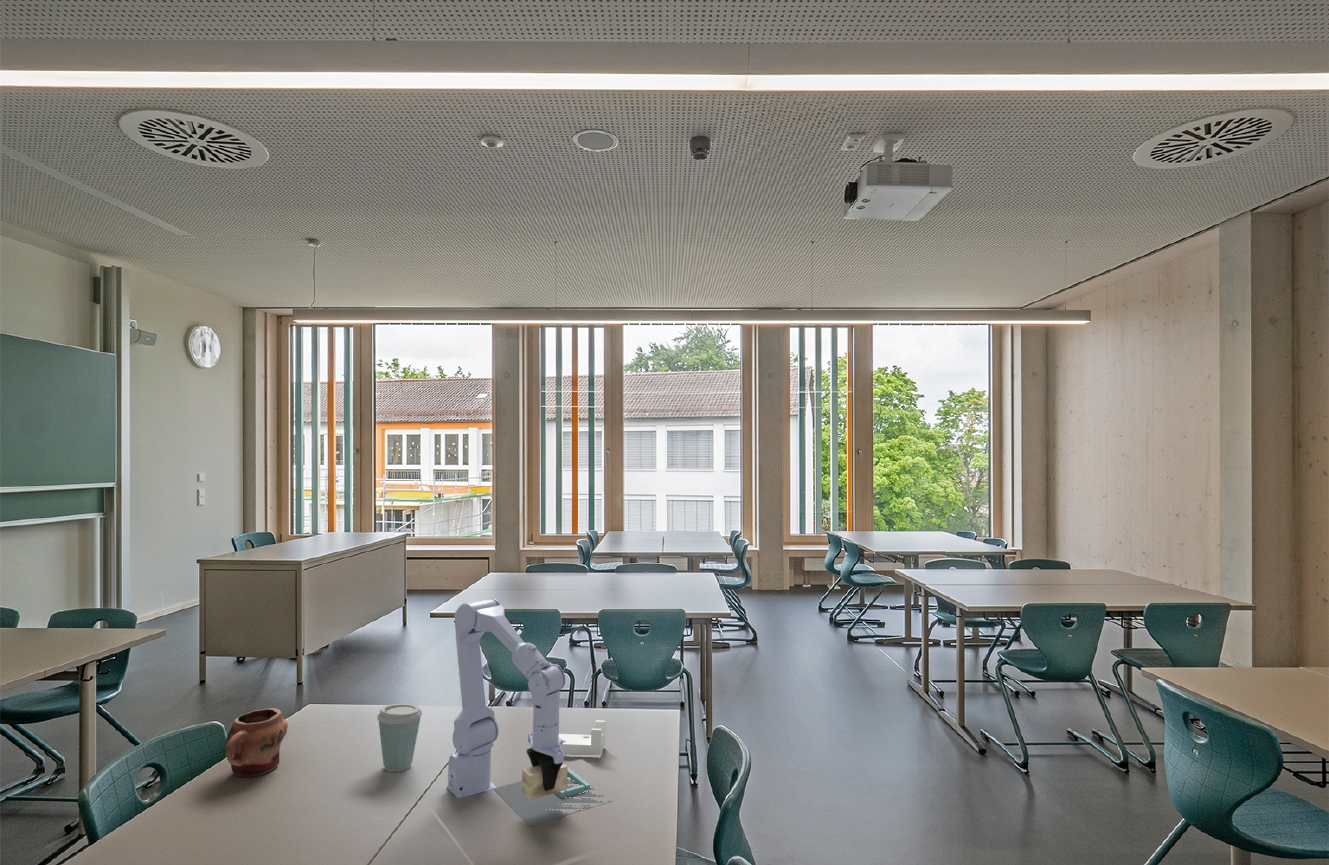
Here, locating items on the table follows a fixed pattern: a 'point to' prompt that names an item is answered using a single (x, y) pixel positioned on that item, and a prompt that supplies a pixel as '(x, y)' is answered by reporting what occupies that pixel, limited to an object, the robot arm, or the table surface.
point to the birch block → (541, 782)
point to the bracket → (585, 741)
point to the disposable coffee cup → (398, 735)
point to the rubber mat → (541, 803)
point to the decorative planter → (255, 742)
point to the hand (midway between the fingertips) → (544, 785)
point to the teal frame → (577, 789)
